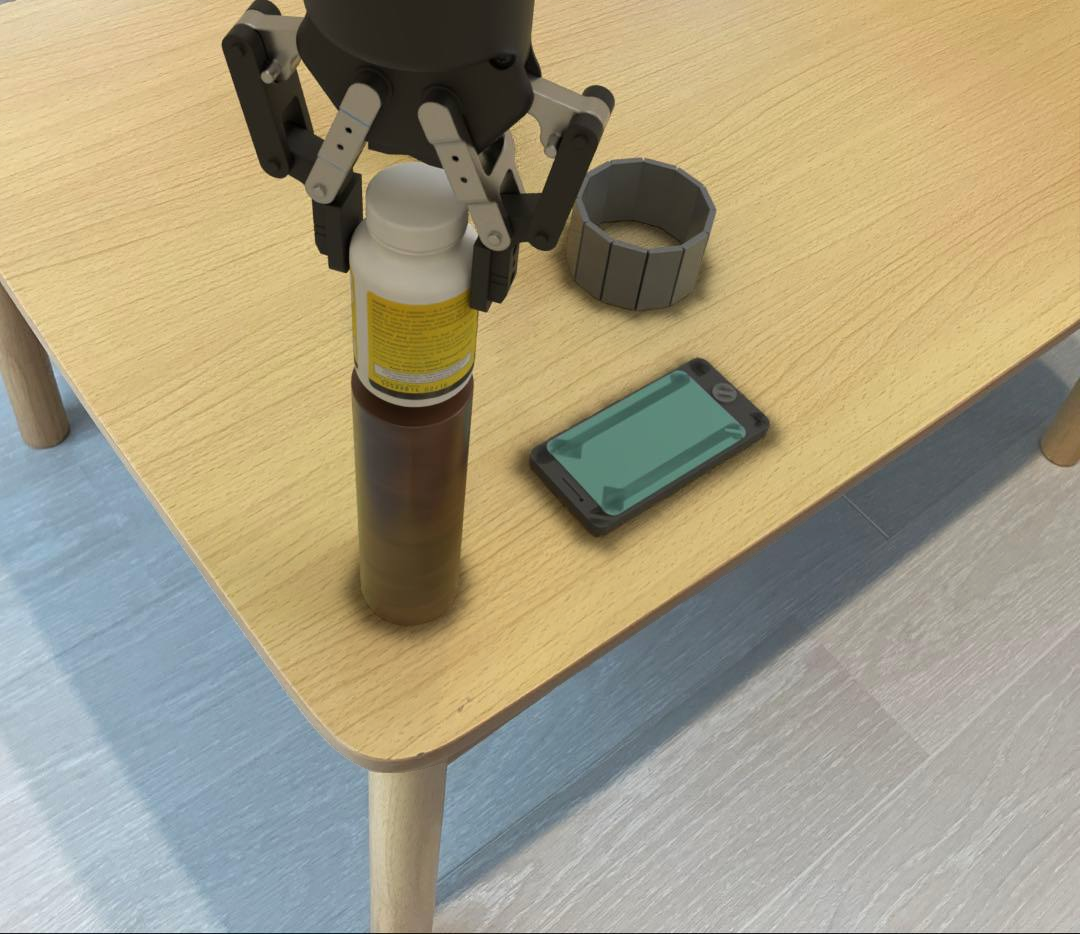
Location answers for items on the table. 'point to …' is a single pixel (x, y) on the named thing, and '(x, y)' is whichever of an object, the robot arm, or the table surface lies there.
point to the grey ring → (649, 199)
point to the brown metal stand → (410, 501)
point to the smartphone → (647, 445)
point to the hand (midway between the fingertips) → (416, 276)
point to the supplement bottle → (413, 288)
